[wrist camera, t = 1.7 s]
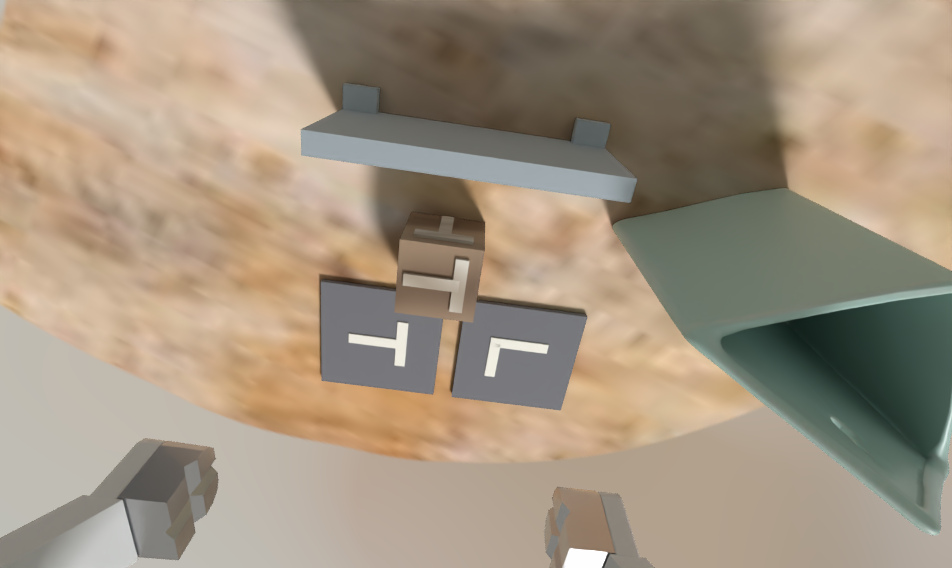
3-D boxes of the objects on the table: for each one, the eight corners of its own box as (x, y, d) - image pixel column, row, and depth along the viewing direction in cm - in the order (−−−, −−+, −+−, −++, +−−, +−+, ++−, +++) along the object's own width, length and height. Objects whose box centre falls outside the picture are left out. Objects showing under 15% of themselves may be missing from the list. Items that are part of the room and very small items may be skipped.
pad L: (466, 298, 35) (465, 301, 35) (586, 314, 36) (587, 317, 35) (451, 393, 39) (451, 397, 39) (559, 406, 40) (560, 411, 39)
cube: (412, 208, 32) (399, 237, 28) (485, 219, 33) (485, 249, 28) (406, 277, 35) (393, 314, 30) (474, 286, 35) (472, 324, 30)
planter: (874, 246, 33) (1319, 486, 15) (786, 331, 36) (1071, 610, 18) (688, 122, 29) (984, 248, 12) (609, 228, 33) (751, 450, 15)
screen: (346, 82, 29) (300, 97, 22) (607, 122, 29) (646, 149, 22) (345, 150, 31) (302, 183, 23) (591, 186, 31) (622, 229, 24)
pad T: (322, 279, 35) (320, 282, 34) (445, 295, 35) (445, 298, 35) (323, 377, 39) (321, 381, 38) (433, 391, 39) (433, 395, 39)
